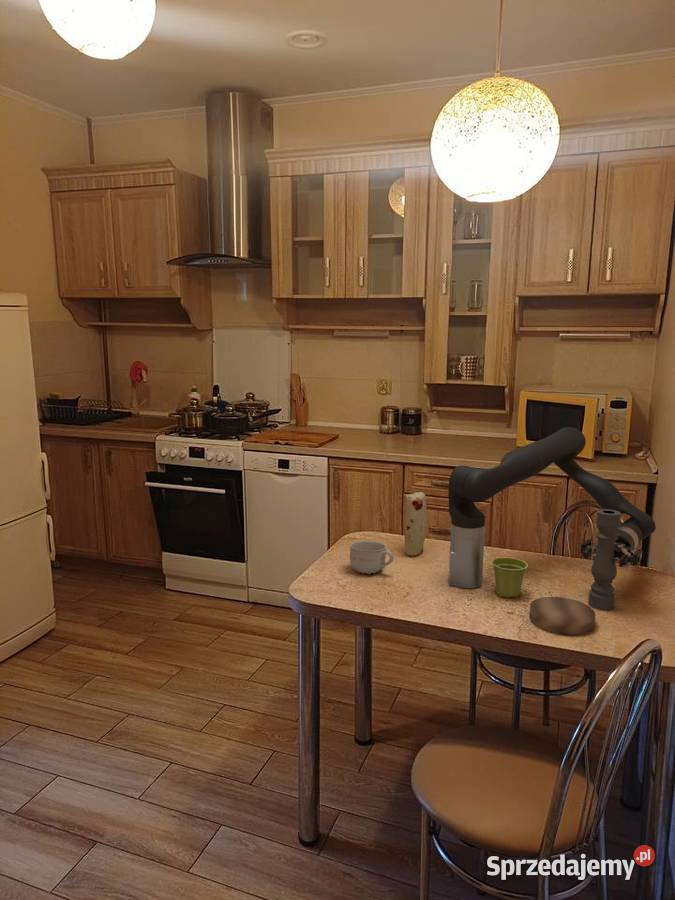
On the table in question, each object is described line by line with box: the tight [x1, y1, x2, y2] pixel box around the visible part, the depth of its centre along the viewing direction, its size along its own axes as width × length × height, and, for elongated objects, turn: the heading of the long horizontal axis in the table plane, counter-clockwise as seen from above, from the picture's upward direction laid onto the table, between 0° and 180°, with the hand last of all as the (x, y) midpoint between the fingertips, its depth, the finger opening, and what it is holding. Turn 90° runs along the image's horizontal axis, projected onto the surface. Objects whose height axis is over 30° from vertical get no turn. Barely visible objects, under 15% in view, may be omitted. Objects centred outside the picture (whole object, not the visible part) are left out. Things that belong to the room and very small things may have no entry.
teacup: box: [349, 540, 394, 575], centre depth 183 cm, size 14×11×8 cm
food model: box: [403, 491, 428, 557], centre depth 198 cm, size 10×7×20 cm
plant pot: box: [491, 556, 529, 598], centre depth 168 cm, size 9×9×9 cm
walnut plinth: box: [528, 596, 596, 636], centre depth 152 cm, size 15×15×3 cm
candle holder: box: [588, 508, 622, 611], centre depth 159 cm, size 6×6×25 cm
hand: (602, 559), depth 158 cm, fingers open, 8 cm apart
